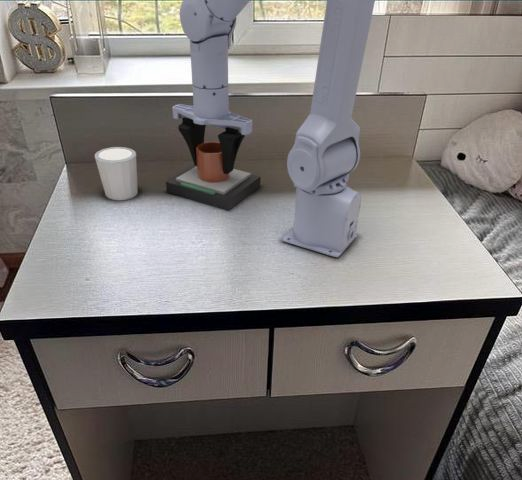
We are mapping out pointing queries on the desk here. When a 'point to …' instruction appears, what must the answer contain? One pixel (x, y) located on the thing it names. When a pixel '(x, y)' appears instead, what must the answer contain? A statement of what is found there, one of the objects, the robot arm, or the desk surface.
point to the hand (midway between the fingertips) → (213, 167)
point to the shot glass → (118, 172)
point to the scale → (214, 188)
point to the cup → (210, 162)
